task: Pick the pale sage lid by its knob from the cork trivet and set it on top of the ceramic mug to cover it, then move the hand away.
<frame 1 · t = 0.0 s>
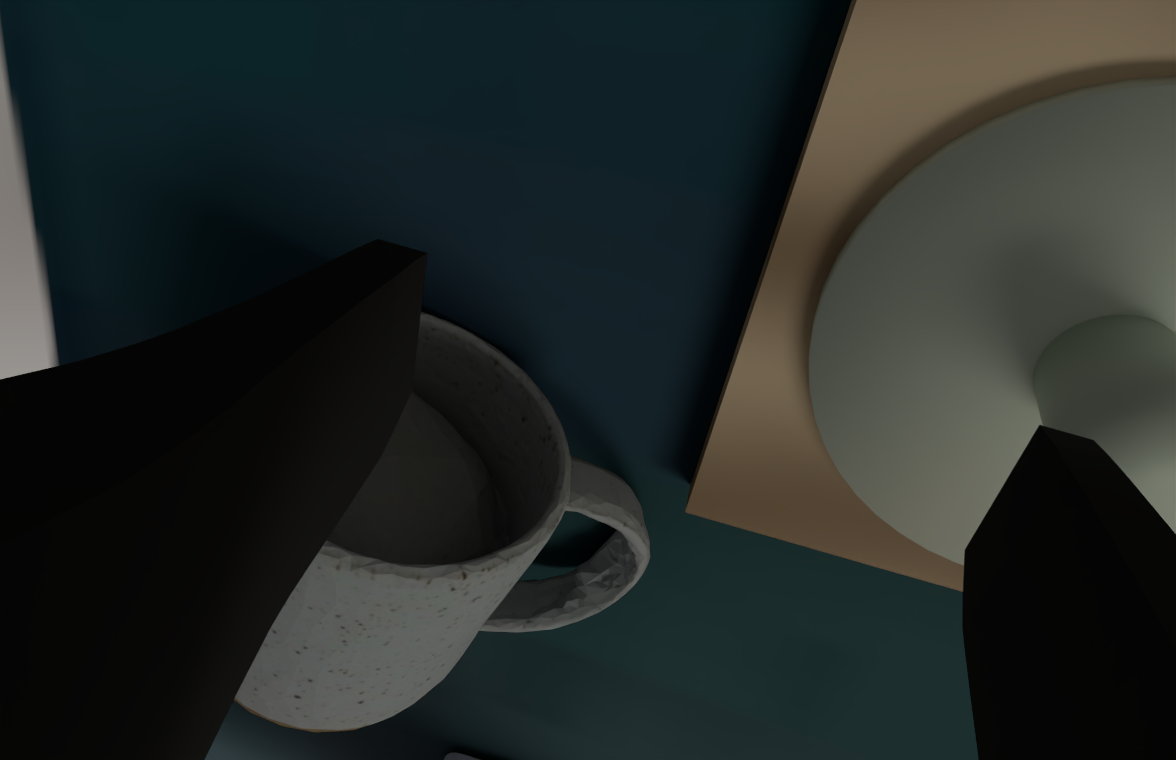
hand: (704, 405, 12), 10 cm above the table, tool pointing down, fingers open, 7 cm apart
trivet: (1095, 336, 21), on the table
ceramic mug: (466, 444, 27), on the table
lid: (1104, 362, 20), point 1 cm above the table, touching trivet
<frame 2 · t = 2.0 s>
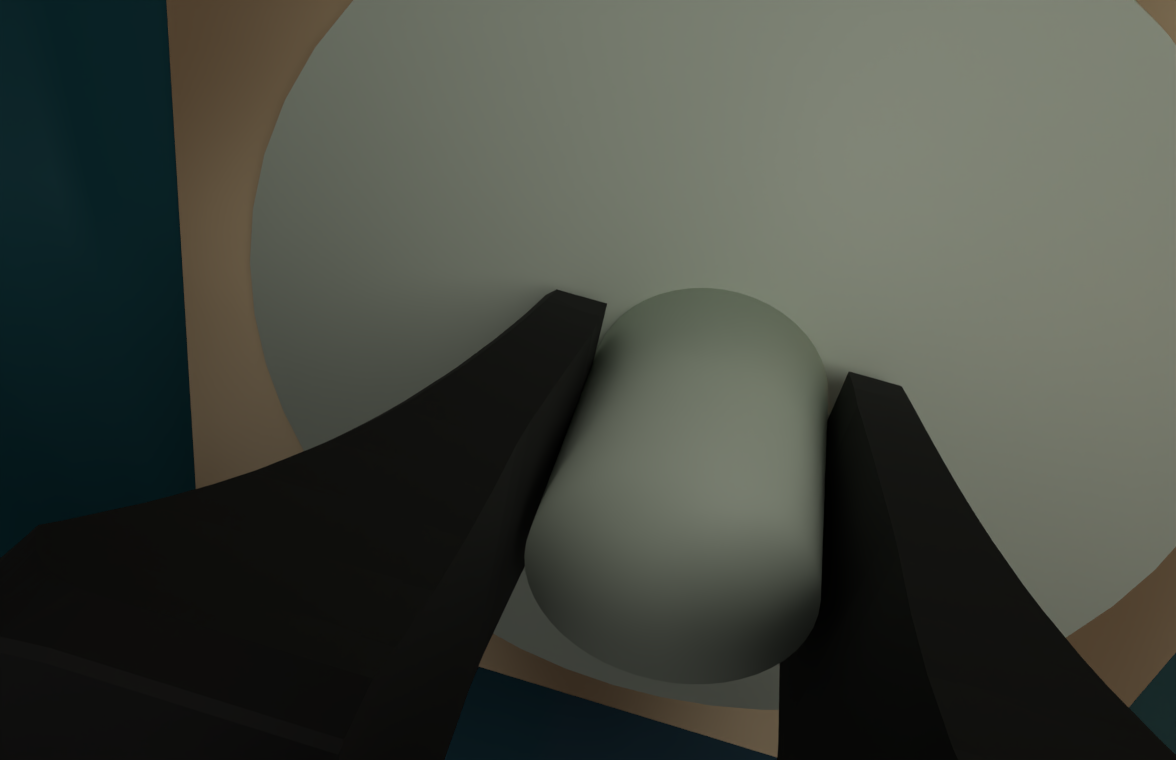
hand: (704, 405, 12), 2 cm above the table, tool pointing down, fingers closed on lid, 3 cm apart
trivet: (720, 325, 13), on the table
lid: (712, 367, 13), point 1 cm above the table, touching gripper, trivet
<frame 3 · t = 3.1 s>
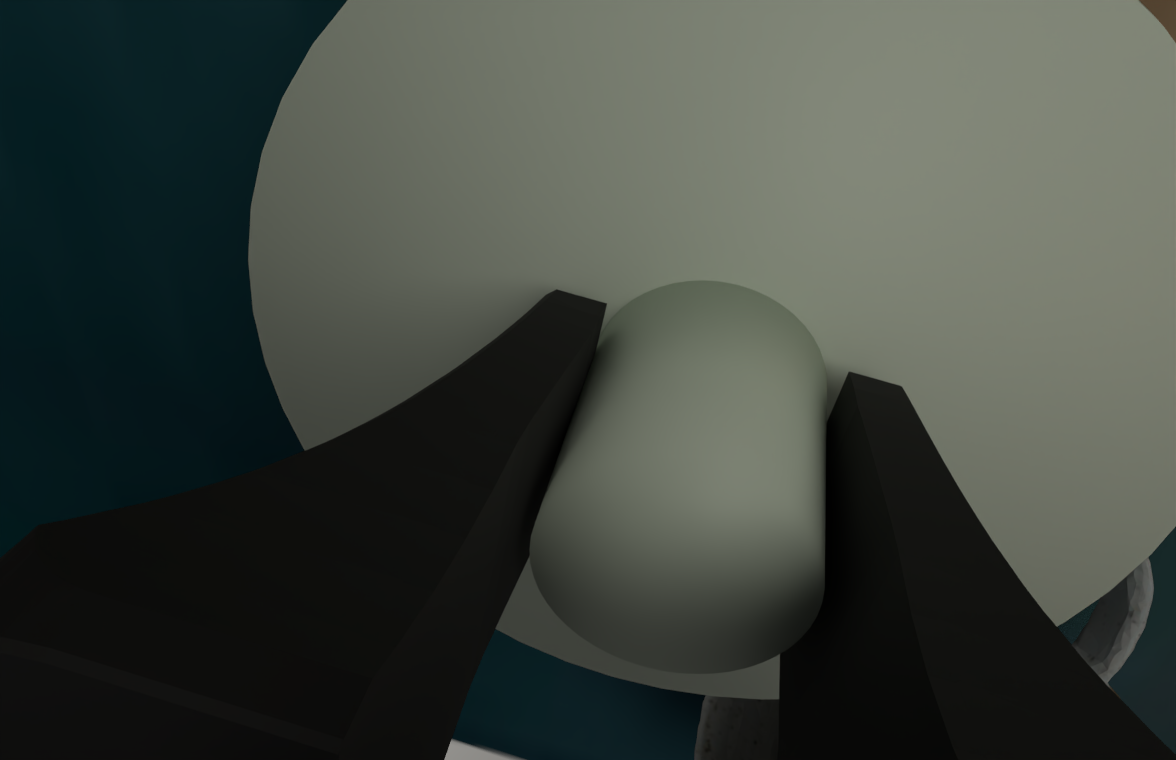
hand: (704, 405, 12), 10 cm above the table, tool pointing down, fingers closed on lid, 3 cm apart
trivet: (746, 51, 20), on the table
ceramic mug: (923, 583, 27), on the table
lid: (711, 359, 13), point 9 cm above the table, touching gripper
when the fingers open (9 cm above the table, at t = 4.6 s): lid stays where it is, resting on ceramic mug.
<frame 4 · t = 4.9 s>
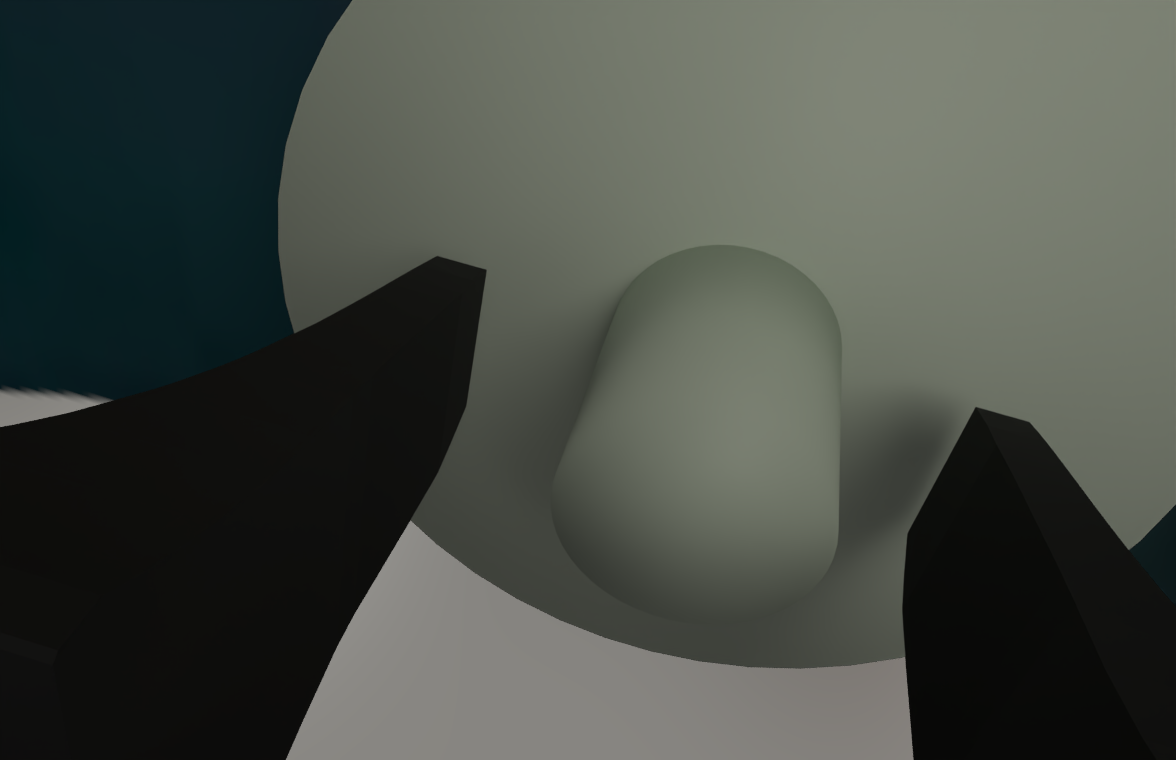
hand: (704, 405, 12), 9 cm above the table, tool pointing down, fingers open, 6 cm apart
lid: (728, 326, 13), point 8 cm above the table, touching ceramic mug
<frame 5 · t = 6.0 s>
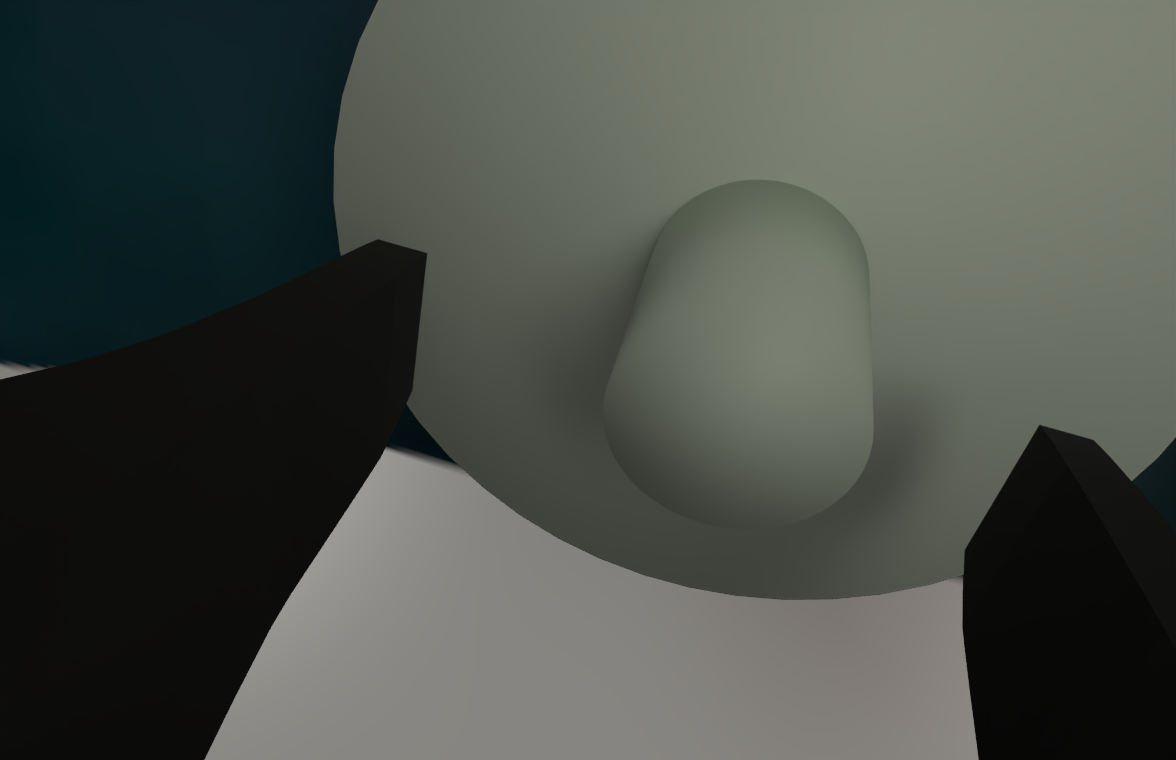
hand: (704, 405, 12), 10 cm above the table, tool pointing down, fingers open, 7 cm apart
lid: (760, 262, 14), point 8 cm above the table, touching ceramic mug
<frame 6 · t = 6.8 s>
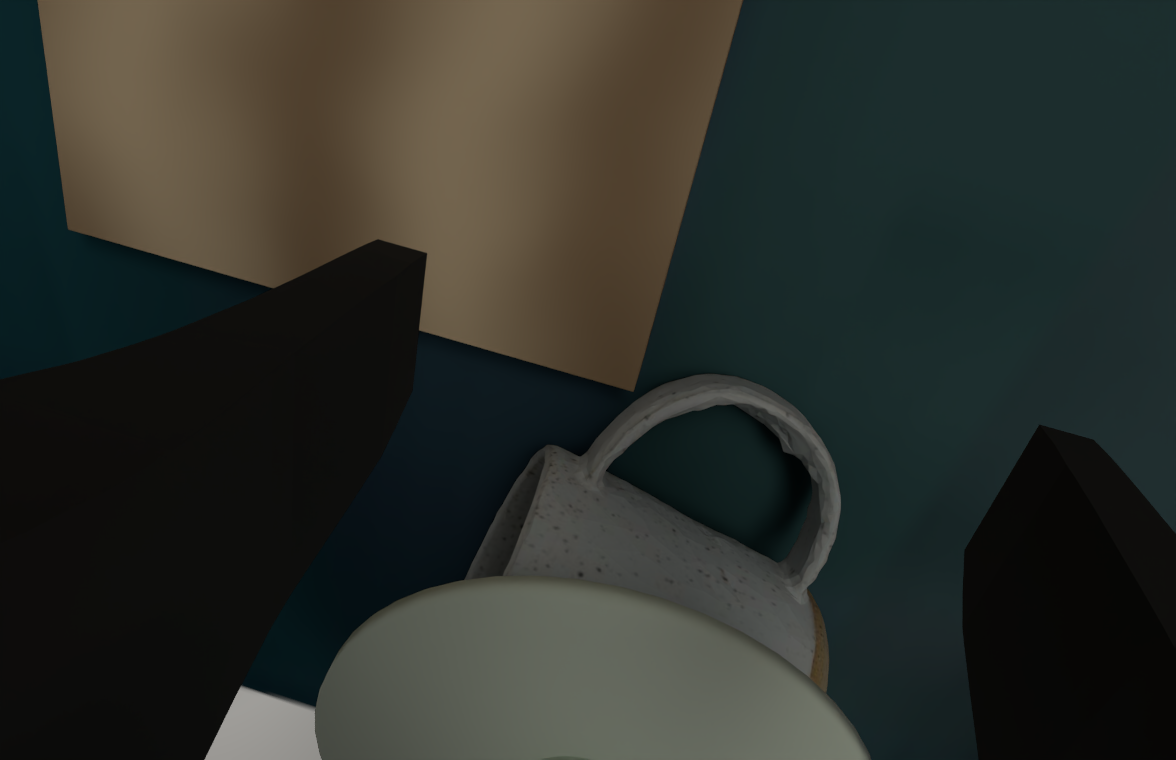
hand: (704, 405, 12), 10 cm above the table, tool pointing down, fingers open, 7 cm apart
ceramic mug: (659, 507, 27), on the table, touching lid
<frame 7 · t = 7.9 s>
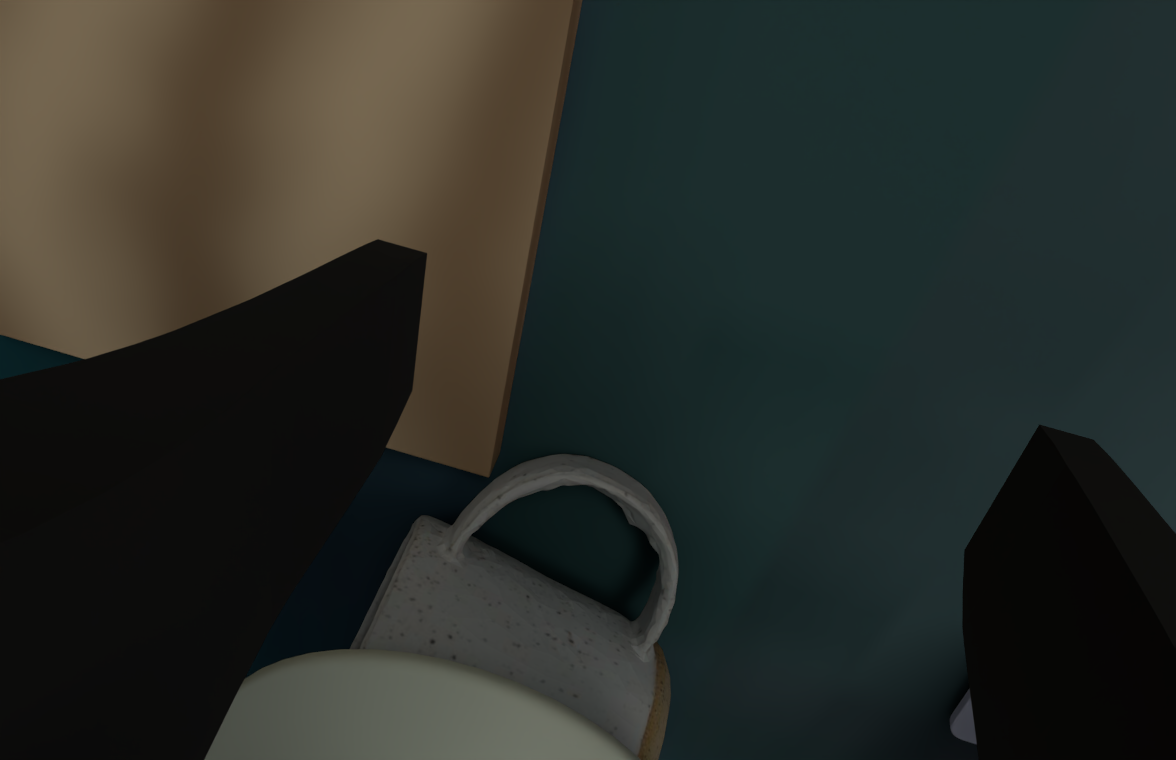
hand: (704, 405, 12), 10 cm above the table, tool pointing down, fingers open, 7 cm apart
trivet: (247, 141, 23), on the table
ceramic mug: (534, 566, 30), on the table, touching lid
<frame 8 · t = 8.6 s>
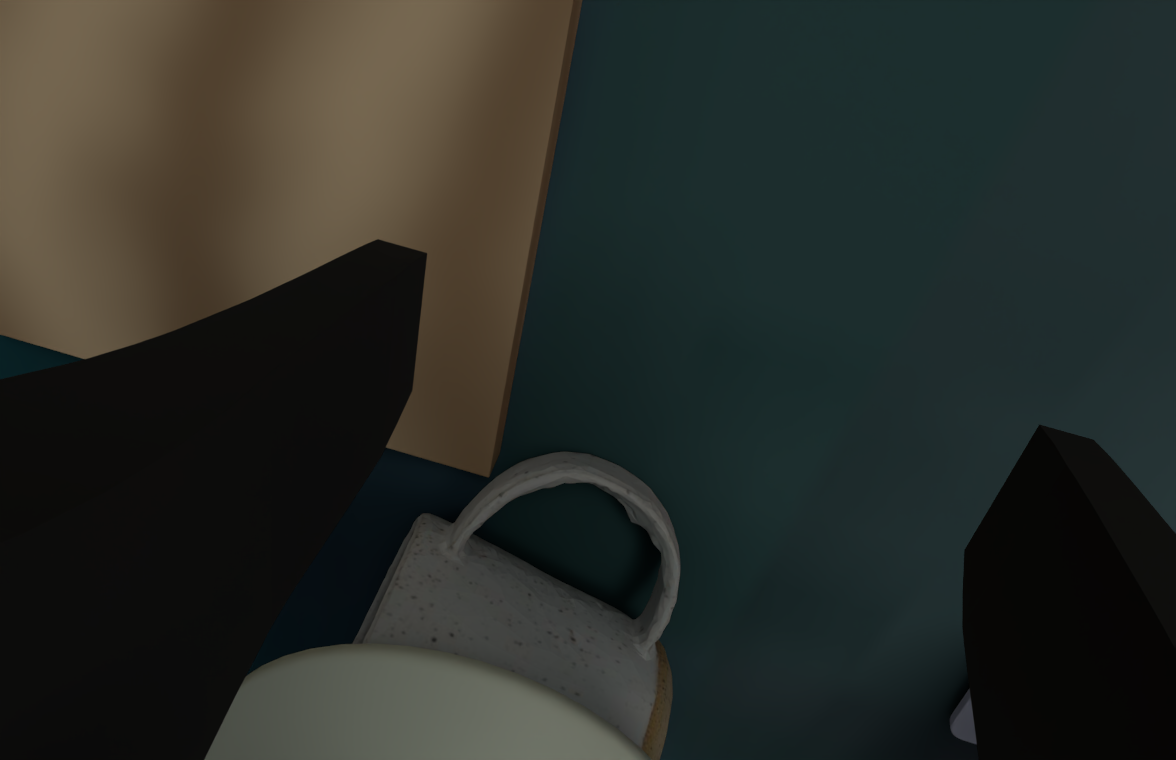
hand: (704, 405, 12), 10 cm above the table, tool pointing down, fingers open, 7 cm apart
trivet: (247, 141, 23), on the table
ceramic mug: (535, 564, 30), on the table, touching lid
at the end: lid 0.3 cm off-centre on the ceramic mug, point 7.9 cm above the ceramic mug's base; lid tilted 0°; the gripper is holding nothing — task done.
